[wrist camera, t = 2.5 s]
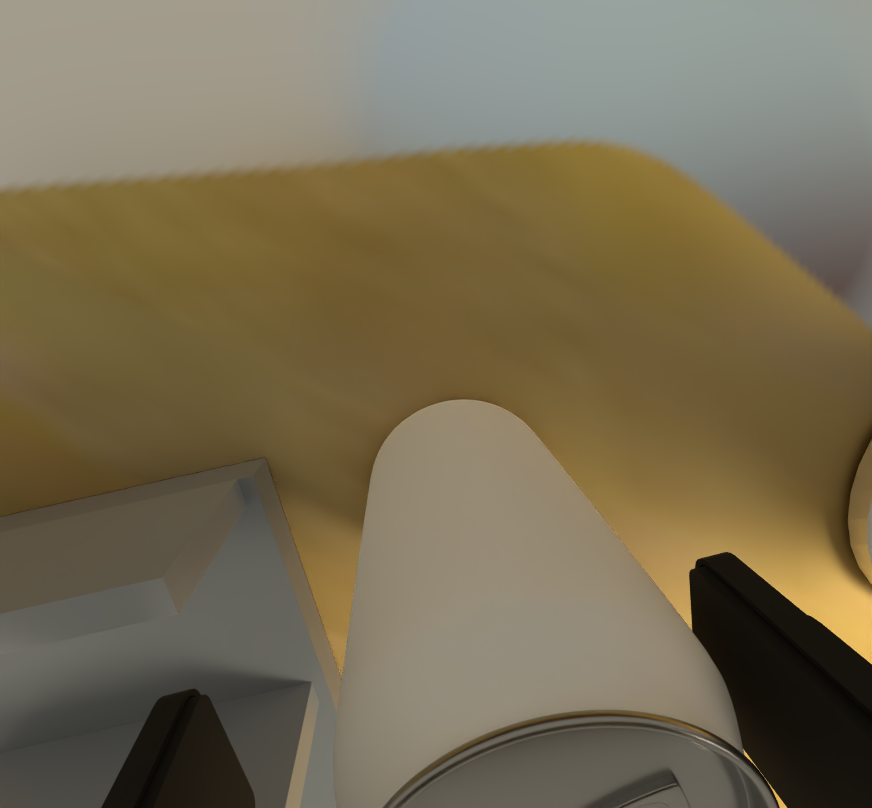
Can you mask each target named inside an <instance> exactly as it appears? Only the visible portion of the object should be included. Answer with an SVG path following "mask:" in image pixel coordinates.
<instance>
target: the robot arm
mask: <svg viewBox="0 0 872 808" xmlns="http://www.w3.org/2000/svg"><path fill="white" fill-rule="evenodd" d="M848 527H849V536H850V545H851V548H852V550H853V553H854V556H855V558H856V561H857V564H858V566H859V568H860V569H861V571H862V572H863V573H864V575H865V576H866V578H867V579H868V580H869V582H870V583H871V584H872V439H871V441H870V443H869V445H868V447H867V449H866V451H865V453H864V456H863V458H862V460H861V462H860V464H859V466H858V470H857V473H856V476H855V480H854V483H853V486H852V490H851V494H850V504H849V513H848ZM689 579H690V597H691V614H692V632H693V633H694V635H695V636H696V637H697V639H698V640H699V641H700V643H701V644H702V645H703V647H704V648H705V649H706V651H707V653H708V654H709V656H710V657H711V659H712V661H713V662H714V664H715V665H716V667H717V669H718V670H719V672H720V674H721V676H722V677H723V680H724V682H725V684H726V686H727V689H728V692H729V695H730V698H731V700H732V704H733V707H734V711H735V714H736V718H737V723H738V727H739V732H740V736H741V741H742V746H743V749H744V750H745V752H746V753H747V754H748V756H749V757H750V758H751V760H752V761H753V762H754V764H755V765H756V766H757V768H758V769H759V770H760V772H761V773H762V774H763V776H764V777H765V778H766V780H767V781H768V782H769V784H770V785H771V786H772V788H773V789H774V790H775V792H776V793H777V794H778V796H779V797H780V798H781V800H782V801H783V802H784V804H785V805H786V806H787V808H872V664H870V663H869V662H868V661H867V660H866V659H864V658H863V657H862V656H861V655H859V654H858V653H857V652H856V651H855V650H853V649H852V648H851V647H850V646H848V645H847V644H846V643H845V642H844V641H842V640H841V639H840V638H839V637H837V636H836V635H835V634H834V633H832V632H831V631H830V630H829V629H828V628H826V627H825V626H824V625H823V624H821V623H820V622H819V621H817V620H816V619H814V618H813V617H811V616H809V615H806V614H805V613H804V612H803V611H801V610H800V609H799V608H798V607H797V606H795V605H794V604H793V603H792V602H790V601H789V600H788V599H787V598H786V597H784V596H783V595H782V594H781V593H780V592H778V591H777V590H776V589H775V588H774V587H772V586H771V585H770V584H769V583H767V582H766V581H765V580H764V579H763V578H761V577H760V576H759V575H758V574H757V573H755V572H754V571H753V570H752V569H750V568H749V567H748V566H747V565H746V564H744V563H743V562H742V561H741V560H740V559H738V558H737V557H736V556H735V555H733V554H731V553H729V552H724V553H720V554H716V555H713V556H709V557H705V558H701V559H698V560H697V561H696V565H695V569H692V570H690V573H689ZM101 808H255V797H254V793H253V790H252V788H251V786H250V784H249V782H248V779H247V777H246V775H245V773H244V771H243V769H242V766H241V764H240V762H239V760H238V758H237V756H236V754H235V751H234V749H233V747H232V745H231V743H230V741H229V738H228V736H227V734H226V732H225V730H224V728H223V726H222V723H221V721H220V719H219V717H218V715H217V713H216V711H215V708H214V706H213V704H212V702H211V700H210V698H209V697H208V696H207V695H206V694H205V695H201V694H200V693H199V691H198V690H196V689H195V688H194V689H189V690H185V691H181V692H177V693H173V694H169V695H165V696H162V697H161V698H159V699H158V700H157V702H156V703H155V705H154V706H153V708H152V710H151V712H150V714H149V716H148V718H147V720H146V722H145V724H144V726H143V728H142V730H141V731H140V733H139V735H138V737H137V739H136V741H135V743H134V745H133V747H132V749H131V751H130V753H129V755H128V757H127V759H126V760H125V762H124V764H123V766H122V768H121V770H120V772H119V774H118V776H117V778H116V780H115V782H114V784H113V786H112V788H111V789H110V791H109V793H108V795H107V797H106V799H105V801H104V803H103V805H102V807H101Z"/></svg>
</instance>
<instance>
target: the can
mask: <svg viewBox="0 0 872 808" xmlns="http://www.w3.org/2000/svg"><path fill="white" fill-rule="evenodd" d="M333 785H334V793H335V798H336V803H337V808H779V805H778V802H777V800H776V797H775V795H774V793H773V791H772V789H771V787H770V786H769V784H768V782H767V781H766V779H765V778H764V777H763V775H762V774H761V773H760V771H759V770H758V769H757V768H756V767H755V765H754V764H753V763H752V762H751V761H750V760H749V759H748V758H747V757H746V756H745V755H744V751H743V746H742V741H741V736H740V732H739V727H738V723H737V718H736V714H735V711H734V707H733V704H732V700H731V698H730V695H729V692H728V689H727V686H726V684H725V682H724V680H723V677H722V676H721V674H720V672H719V670H718V669H717V667H716V665H715V664H714V662H713V661H712V659H711V657H710V656H709V654H708V653H707V651H706V649H705V648H704V647H703V645H702V644H701V643H700V641H699V640H698V639H697V637H696V636H695V635H694V633H693V632H692V630H691V629H690V628H689V626H688V625H687V624H686V622H685V621H684V620H683V618H682V617H681V616H680V615H679V613H678V612H677V611H676V609H675V608H674V607H673V606H672V604H671V603H670V602H669V600H668V599H667V598H666V597H665V595H664V594H663V593H662V592H661V590H660V589H659V588H658V586H657V585H656V584H655V583H654V581H653V580H652V579H651V577H650V576H649V575H648V574H647V572H646V571H645V570H644V569H643V567H642V566H641V565H640V564H639V562H638V561H637V560H636V559H635V557H634V556H633V555H632V554H631V552H630V551H629V550H628V548H627V547H626V546H625V545H624V543H623V542H622V541H621V540H620V538H619V537H618V536H617V535H616V533H615V532H614V531H613V530H612V528H611V527H610V526H609V525H608V523H607V522H606V521H605V520H604V518H603V517H602V516H601V515H600V513H599V512H598V511H597V510H596V508H595V507H594V506H593V505H592V503H591V502H590V501H589V500H588V498H587V497H586V496H585V495H584V493H583V492H582V491H581V490H580V488H579V487H578V486H577V485H576V483H575V482H574V481H573V480H572V478H571V477H570V476H569V475H568V473H567V472H566V471H565V470H564V468H563V467H562V466H561V465H560V463H559V462H558V461H557V460H556V459H555V457H554V456H553V455H552V454H551V452H550V451H549V450H548V449H547V447H546V446H545V445H544V444H543V443H542V441H541V440H540V439H539V438H538V437H537V435H536V434H535V433H534V432H533V431H532V430H531V429H530V427H529V426H528V425H527V424H526V423H524V422H523V421H522V420H521V419H520V418H518V417H517V416H516V415H514V414H513V413H511V412H510V411H508V410H506V409H504V408H502V407H500V406H497V405H494V404H491V403H488V402H483V401H478V400H467V399H461V400H450V401H444V402H440V403H436V404H433V405H430V406H428V407H425V408H423V409H421V410H419V411H417V412H415V413H414V414H412V415H410V416H409V417H407V418H406V419H405V420H404V421H402V422H401V423H400V424H399V425H398V426H397V427H396V428H395V429H394V430H393V431H392V432H391V433H390V434H389V436H388V437H387V438H386V440H385V441H384V443H383V444H382V446H381V448H380V450H379V452H378V454H377V457H376V459H375V462H374V466H373V470H372V474H371V479H370V485H369V492H368V498H367V505H366V511H365V518H364V525H363V532H362V539H361V545H360V552H359V559H358V566H357V573H356V580H355V587H354V594H353V602H352V609H351V616H350V623H349V630H348V638H347V645H346V652H345V659H344V667H343V674H342V682H341V689H340V697H339V705H338V713H337V722H336V731H335V741H334V753H333Z"/></svg>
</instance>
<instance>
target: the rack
mask: <svg viewBox="0 0 872 808" xmlns="http://www.w3.org/2000/svg"><path fill="white" fill-rule="evenodd" d="M341 682H342V679H341V676H340V673H339V671H338V668H337V665H336V662H335V659H334V656H333V653H332V650H331V647H330V644H329V642H328V639H327V636H326V633H325V630H324V627H323V624H322V621H321V618H320V615H319V613H318V610H317V607H316V604H315V601H314V598H313V595H312V592H311V589H310V586H309V583H308V581H307V578H306V575H305V572H304V569H303V566H302V563H301V560H300V557H299V554H298V552H297V549H296V546H295V543H294V540H293V537H292V534H291V531H290V528H289V525H288V523H287V520H286V517H285V514H284V511H283V508H282V505H281V502H280V499H279V496H278V493H277V491H276V488H275V485H274V482H273V479H272V476H271V473H270V470H269V467H268V464H267V462H266V459H265V458H261V459H257V460H252V461H248V462H243V463H239V464H234V465H230V466H225V467H221V468H217V469H212V470H208V471H203V472H199V473H194V474H190V475H185V476H181V477H176V478H172V479H167V480H163V481H159V482H154V483H150V484H145V485H141V486H136V487H132V488H127V489H123V490H118V491H114V492H109V493H105V494H101V495H96V496H92V497H87V498H83V499H78V500H74V501H69V502H65V503H60V504H56V505H51V506H47V507H43V508H38V509H34V510H29V511H25V512H20V513H16V514H11V515H7V516H2V517H0V808H101V807H102V805H103V803H104V801H105V799H106V797H107V795H108V793H109V791H110V789H111V788H112V786H113V784H114V782H115V780H116V778H117V776H118V774H119V772H120V770H121V768H122V766H123V764H124V762H125V760H126V759H127V757H128V755H129V753H130V751H131V749H132V747H133V745H134V743H135V741H136V739H137V737H138V735H139V733H140V731H141V730H142V728H143V726H144V724H145V722H146V720H147V718H148V716H149V714H150V712H151V710H152V708H153V706H154V705H155V703H156V702H157V700H158V699H159V698H161V697H162V696H165V695H169V694H173V693H177V692H181V691H185V690H189V689H194V688H195V689H196V690H198V691H199V693H200V694H201V695H205V694H206V695H207V696H208V697H209V698H210V700H211V702H212V704H213V706H214V708H215V711H216V713H217V715H218V717H219V719H220V721H221V723H222V726H223V728H224V730H225V732H226V734H227V736H228V738H229V741H230V743H231V745H232V747H233V749H234V751H235V754H236V756H237V758H238V760H239V762H240V764H241V766H242V769H243V771H244V773H245V775H246V777H247V779H248V782H249V784H250V786H251V788H252V790H253V793H254V797H255V808H337V803H336V798H335V793H334V785H333V753H334V741H335V731H336V722H337V713H338V705H339V697H340V689H341Z"/></svg>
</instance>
